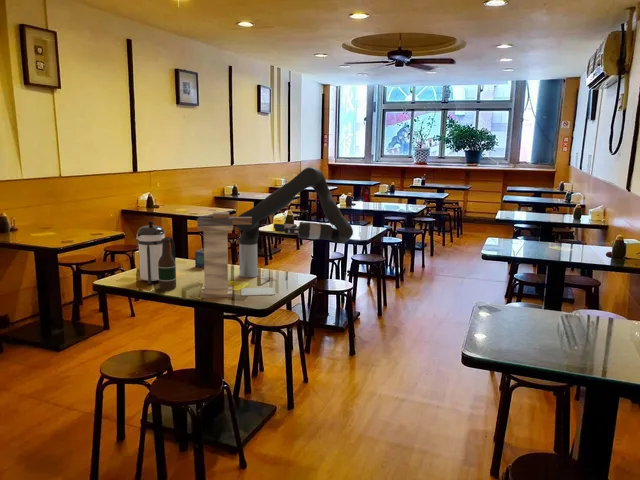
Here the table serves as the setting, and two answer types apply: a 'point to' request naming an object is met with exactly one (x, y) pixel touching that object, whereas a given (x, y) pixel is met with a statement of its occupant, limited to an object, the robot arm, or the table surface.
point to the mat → (256, 291)
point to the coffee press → (151, 251)
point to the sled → (235, 219)
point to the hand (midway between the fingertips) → (274, 227)
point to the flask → (199, 258)
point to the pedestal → (215, 256)
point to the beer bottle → (166, 267)
